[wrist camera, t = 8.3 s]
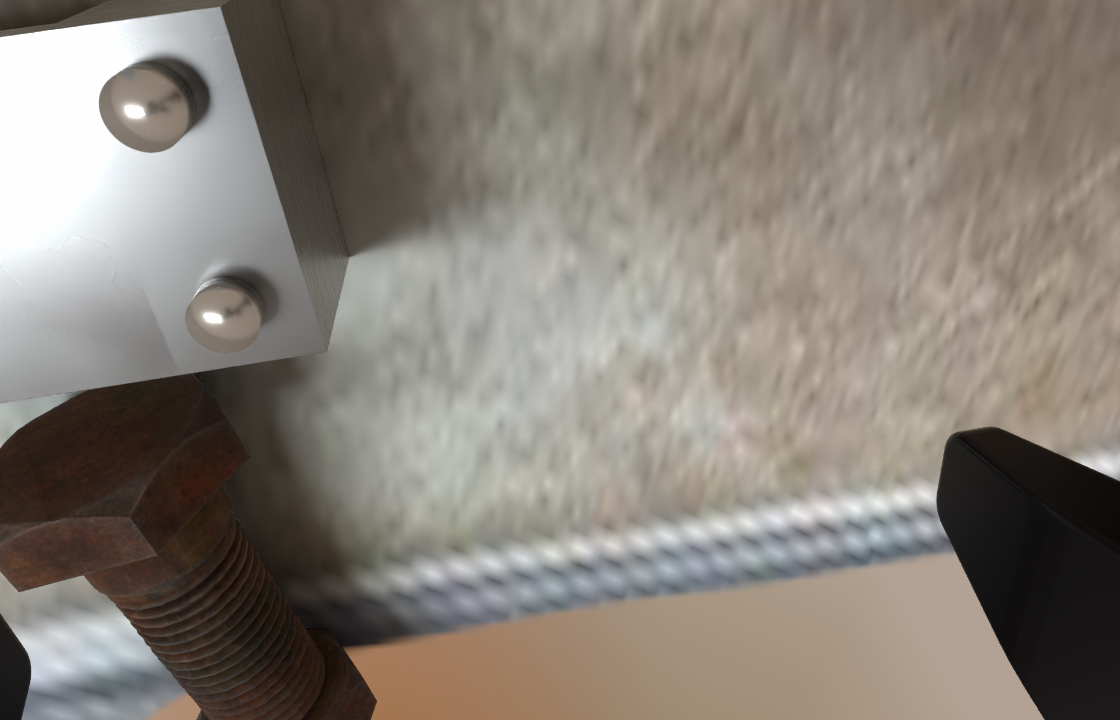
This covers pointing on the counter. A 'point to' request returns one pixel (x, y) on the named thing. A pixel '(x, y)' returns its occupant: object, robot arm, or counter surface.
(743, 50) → the counter surface
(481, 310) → the counter surface
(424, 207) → the counter surface
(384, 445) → the counter surface
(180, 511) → the brown lumpy shape
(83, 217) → the housing
